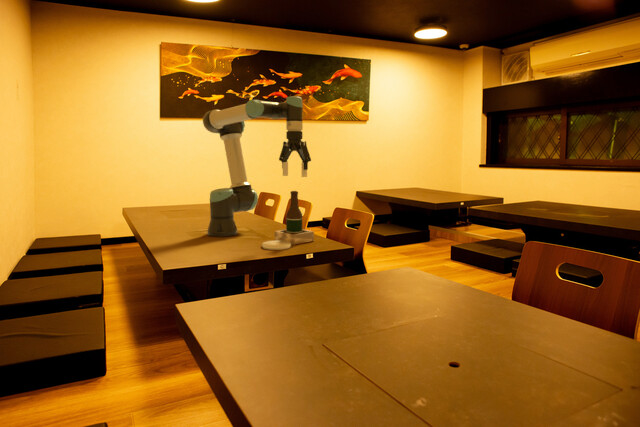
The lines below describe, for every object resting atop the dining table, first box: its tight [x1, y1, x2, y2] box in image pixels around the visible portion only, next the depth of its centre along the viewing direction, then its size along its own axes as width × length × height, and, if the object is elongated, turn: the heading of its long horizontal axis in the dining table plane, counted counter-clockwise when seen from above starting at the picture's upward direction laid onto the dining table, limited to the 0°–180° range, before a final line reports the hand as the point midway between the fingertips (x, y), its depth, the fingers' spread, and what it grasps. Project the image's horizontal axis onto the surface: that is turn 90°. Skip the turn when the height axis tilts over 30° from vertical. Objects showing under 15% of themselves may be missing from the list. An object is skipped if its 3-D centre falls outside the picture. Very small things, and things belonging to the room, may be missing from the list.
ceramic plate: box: [261, 240, 292, 251], centre depth 199 cm, size 13×13×2 cm
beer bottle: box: [285, 190, 303, 234], centre depth 211 cm, size 8×8×24 cm
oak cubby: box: [274, 228, 315, 246], centre depth 212 cm, size 13×13×4 cm
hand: (294, 176), depth 208 cm, fingers open, 13 cm apart
